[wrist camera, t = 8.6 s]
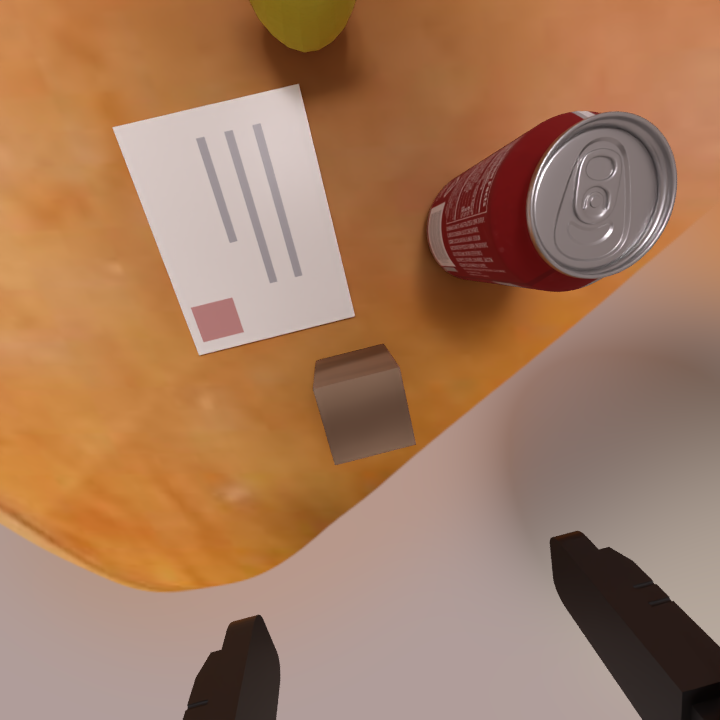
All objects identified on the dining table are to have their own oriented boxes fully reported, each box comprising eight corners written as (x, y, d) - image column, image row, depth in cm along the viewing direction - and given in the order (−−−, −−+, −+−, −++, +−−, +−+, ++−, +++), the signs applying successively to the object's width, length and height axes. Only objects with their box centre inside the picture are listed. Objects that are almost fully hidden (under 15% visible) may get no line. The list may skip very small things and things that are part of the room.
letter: (115, 129, 21) (112, 127, 21) (299, 86, 21) (298, 83, 21) (200, 354, 25) (199, 355, 25) (354, 315, 25) (355, 316, 25)
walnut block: (316, 360, 26) (313, 389, 20) (383, 343, 26) (399, 367, 20) (333, 421, 27) (335, 465, 21) (397, 405, 27) (415, 444, 22)
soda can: (421, 280, 25) (503, 297, 13) (425, 172, 23) (524, 85, 12) (514, 279, 25) (670, 294, 14) (526, 174, 24) (716, 92, 12)
